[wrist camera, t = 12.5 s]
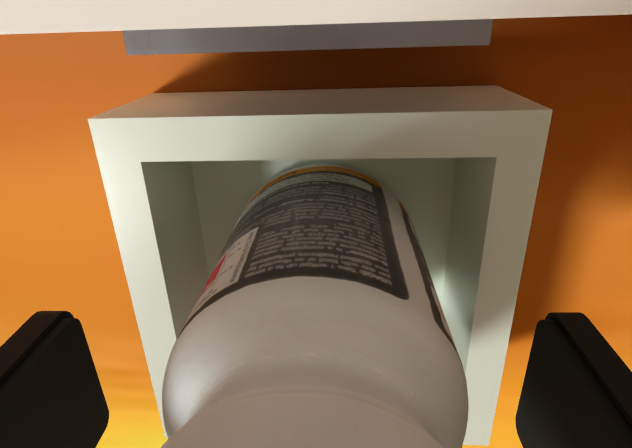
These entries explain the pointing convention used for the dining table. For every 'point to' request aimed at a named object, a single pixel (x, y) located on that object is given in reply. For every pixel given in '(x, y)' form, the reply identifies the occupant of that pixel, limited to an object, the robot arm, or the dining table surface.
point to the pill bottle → (317, 328)
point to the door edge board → (286, 22)
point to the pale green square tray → (332, 148)
